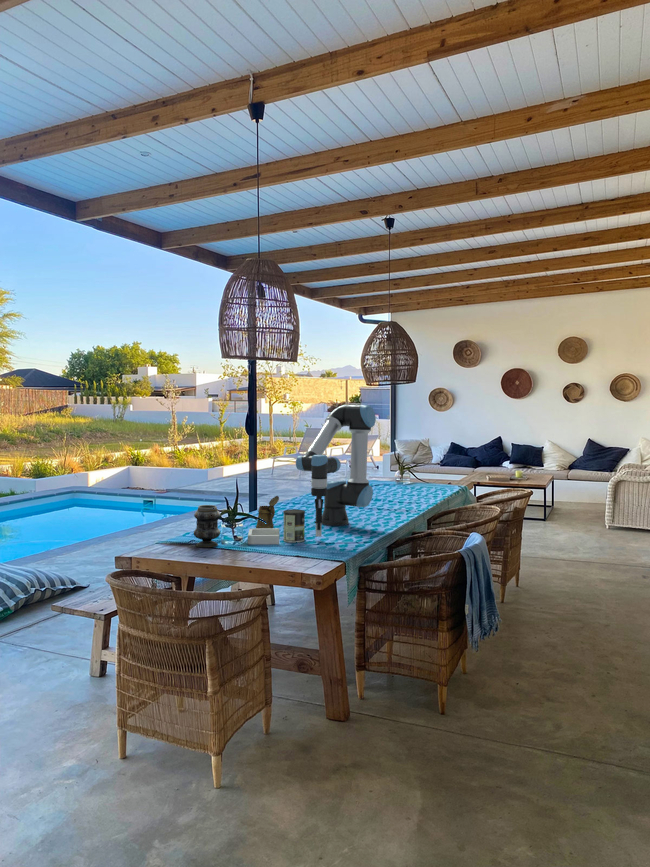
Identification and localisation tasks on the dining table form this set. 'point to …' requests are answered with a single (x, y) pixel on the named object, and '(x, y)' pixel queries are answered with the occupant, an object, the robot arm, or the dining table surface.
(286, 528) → the coffee can
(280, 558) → the dining table surface
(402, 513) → the dining table surface
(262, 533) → the tray
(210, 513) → the stone vase
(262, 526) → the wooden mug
